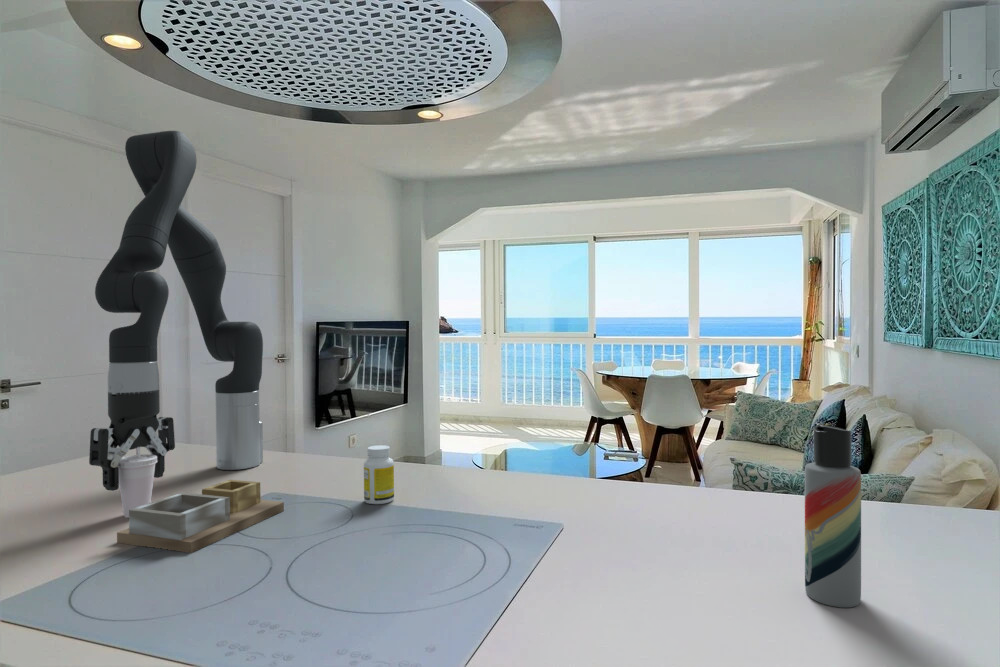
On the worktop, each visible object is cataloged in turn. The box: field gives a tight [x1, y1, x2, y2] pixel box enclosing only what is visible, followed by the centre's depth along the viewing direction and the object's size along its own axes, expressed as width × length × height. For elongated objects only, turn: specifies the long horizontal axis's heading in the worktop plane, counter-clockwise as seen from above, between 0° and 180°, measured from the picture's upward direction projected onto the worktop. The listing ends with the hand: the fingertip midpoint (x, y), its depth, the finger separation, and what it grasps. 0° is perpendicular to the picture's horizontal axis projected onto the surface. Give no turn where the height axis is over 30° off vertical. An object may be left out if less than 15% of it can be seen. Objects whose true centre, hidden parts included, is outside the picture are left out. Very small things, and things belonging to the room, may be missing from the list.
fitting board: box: [116, 479, 285, 554], centre depth 95 cm, size 20×14×5 cm
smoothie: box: [116, 447, 158, 519], centre depth 101 cm, size 6×6×14 cm
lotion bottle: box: [804, 424, 862, 608], centre depth 69 cm, size 6×6×20 cm
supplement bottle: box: [363, 444, 395, 505], centre depth 108 cm, size 5×5×10 cm
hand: (135, 483), depth 101 cm, fingers open, 8 cm apart
